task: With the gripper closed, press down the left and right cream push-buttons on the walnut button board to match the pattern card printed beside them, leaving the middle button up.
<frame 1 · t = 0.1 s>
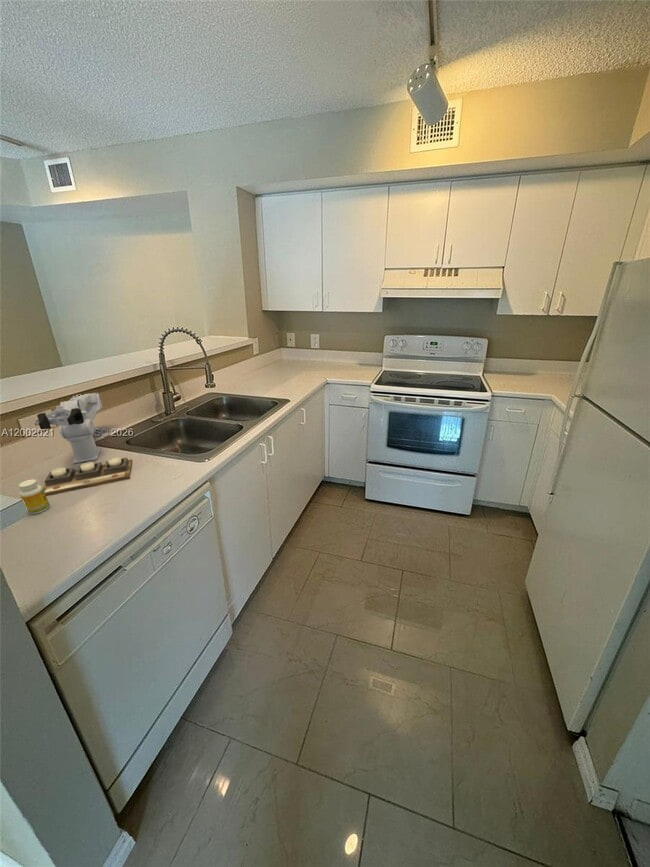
hand: (55, 424, 108), 22 cm above the worktop, tool horizontal, fingers open, 7 cm apart
button left: (59, 473, 115), point 3 cm above the worktop, slide at 0.0 cm
board: (90, 477, 119), on the worktop
button middle: (87, 467, 118), point 3 cm above the worktop, slide at 0.0 cm
supplement bottle: (39, 509, 102), on the worktop
button right: (115, 462, 122), point 3 cm above the worktop, slide at 0.0 cm
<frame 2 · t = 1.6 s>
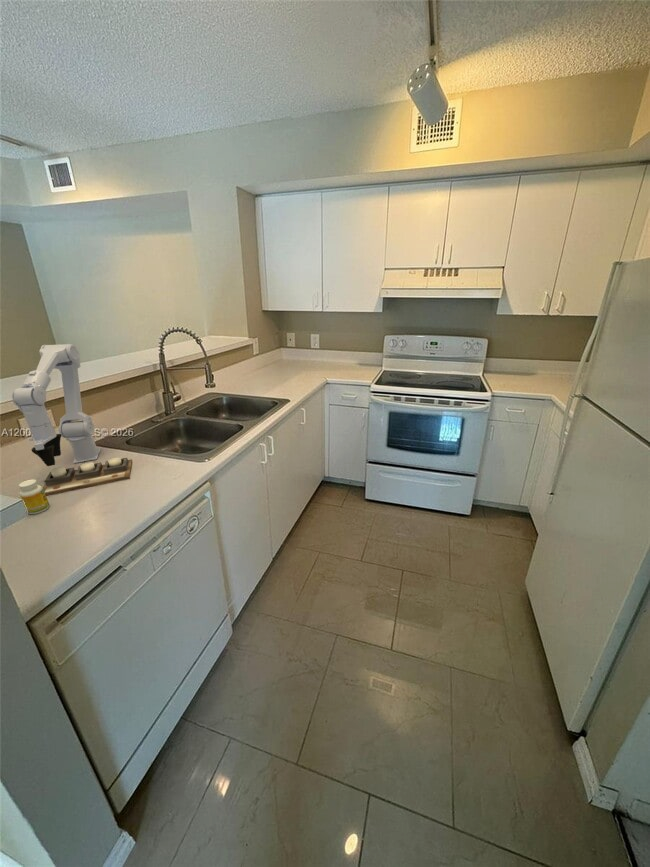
hand: (54, 460, 113), 8 cm above the worktop, tool pointing down, fingers open, 7 cm apart
nothing on the worktop moved.
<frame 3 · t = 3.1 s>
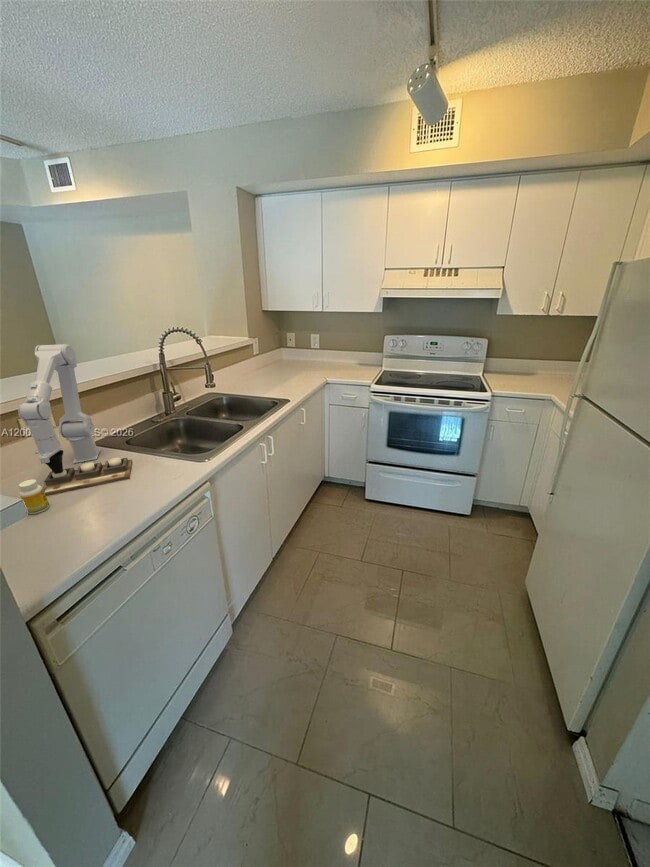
hand: (59, 472, 115), 4 cm above the worktop, tool pointing down, fingers closed, pressing on button left
button left: (60, 475, 116), point 2 cm above the worktop, slide at 1.0 cm, touching gripper
everything else where it was.
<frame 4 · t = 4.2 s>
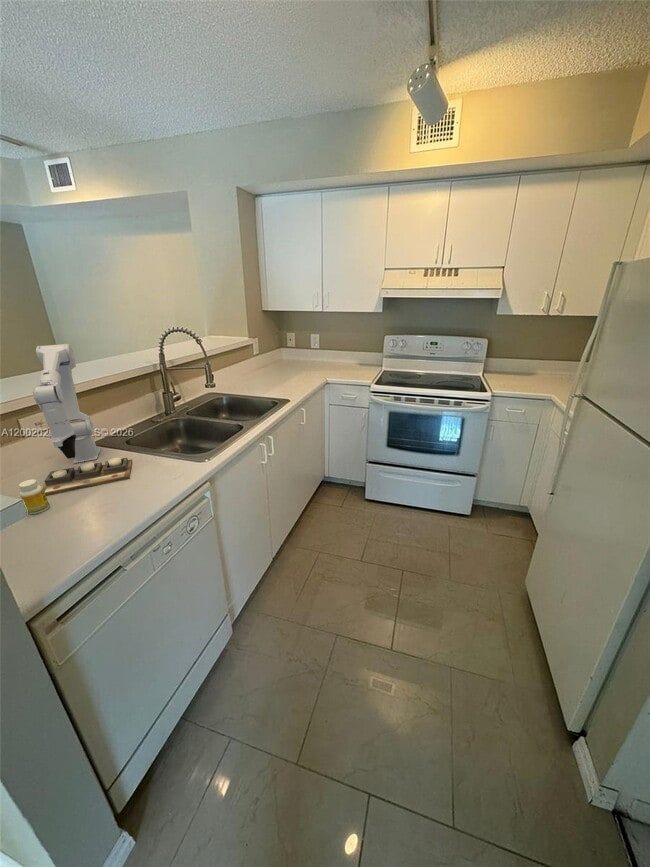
hand: (71, 457, 115), 8 cm above the worktop, tool pointing down, fingers closed
button left: (60, 475, 116), point 2 cm above the worktop, slide at 1.1 cm
everything else where it was.
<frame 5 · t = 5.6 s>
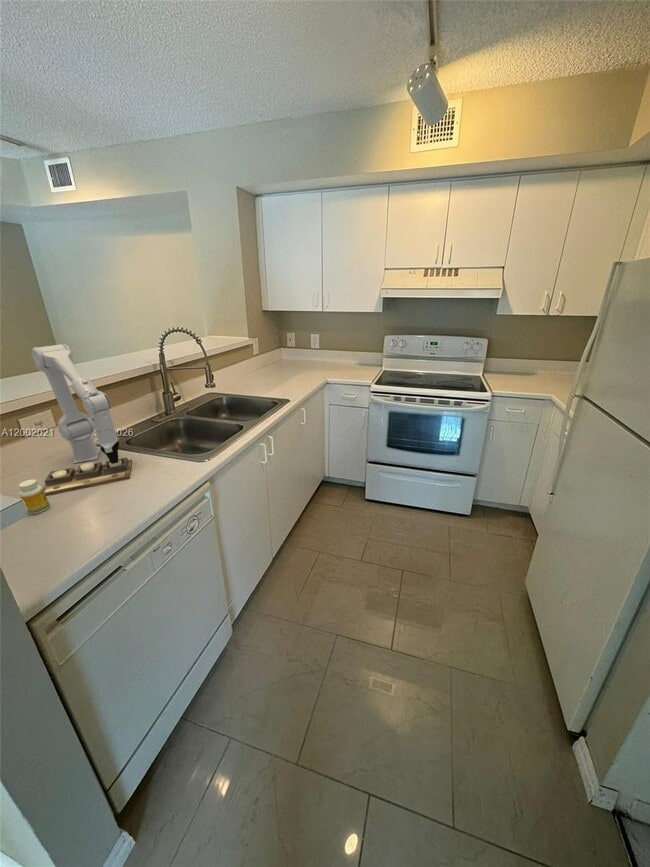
hand: (115, 462, 122), 3 cm above the worktop, tool pointing down, fingers closed, pressing on button right
button right: (116, 465, 122), point 2 cm above the worktop, slide at 1.1 cm, touching gripper
everything else where it was.
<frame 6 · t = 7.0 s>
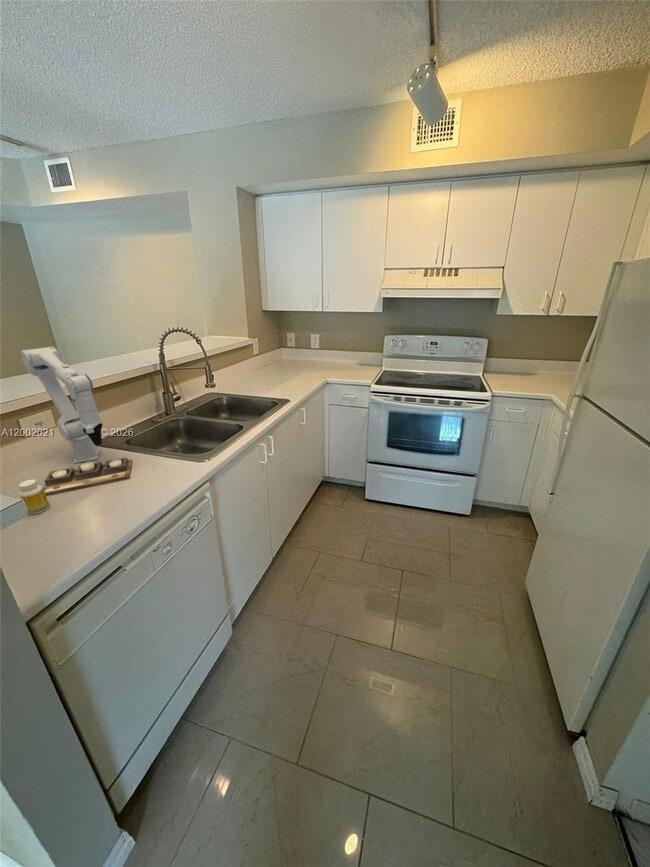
hand: (98, 444, 122), 9 cm above the worktop, tool pointing down, fingers closed
button right: (116, 465, 122), point 2 cm above the worktop, slide at 1.1 cm
everything else where it was.
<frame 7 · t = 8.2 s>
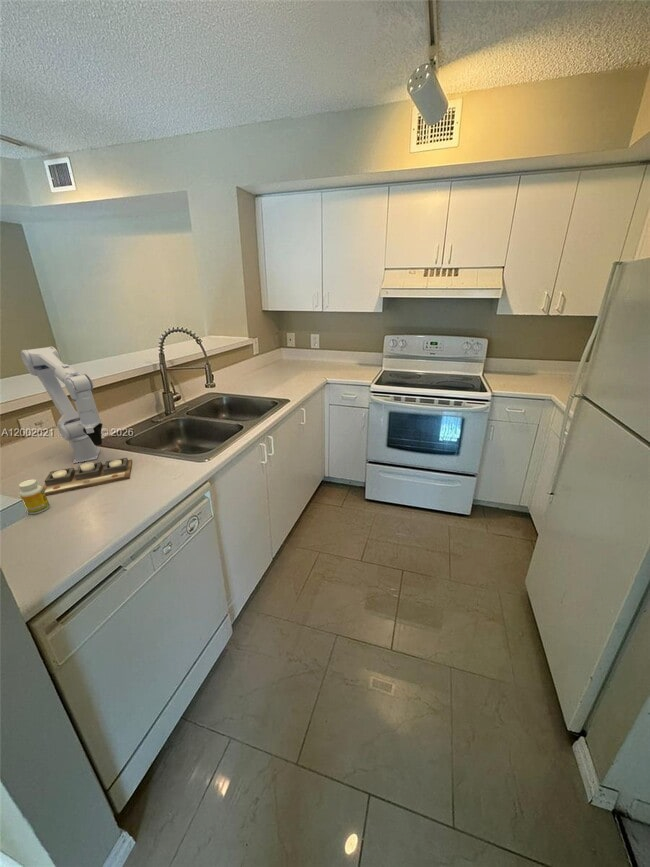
hand: (98, 444, 122), 9 cm above the worktop, tool pointing down, fingers closed
nothing on the worktop moved.
at the end: button left slide at 1.1 cm; button right slide at 1.1 cm; button middle slide at 0.0 cm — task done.
